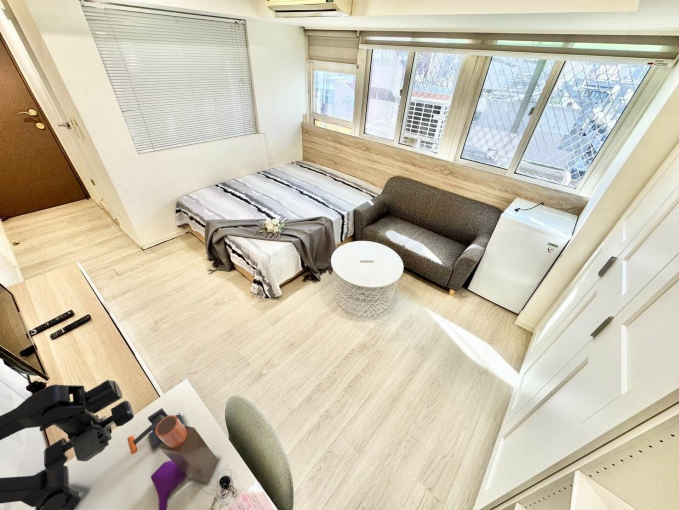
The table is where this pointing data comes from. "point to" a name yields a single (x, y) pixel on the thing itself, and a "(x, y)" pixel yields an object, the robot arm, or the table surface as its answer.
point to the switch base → (153, 437)
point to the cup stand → (193, 456)
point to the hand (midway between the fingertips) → (107, 444)
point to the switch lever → (142, 435)
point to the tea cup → (171, 431)
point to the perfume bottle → (166, 481)
